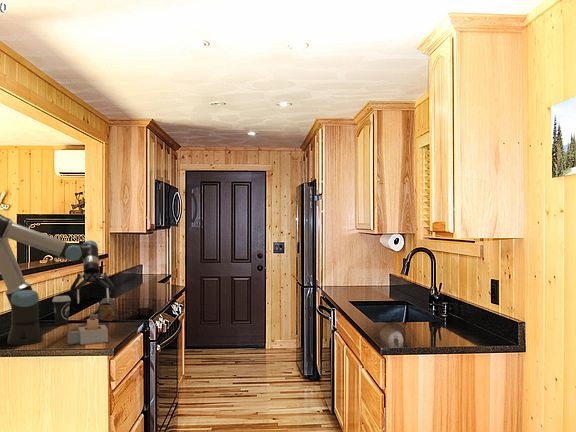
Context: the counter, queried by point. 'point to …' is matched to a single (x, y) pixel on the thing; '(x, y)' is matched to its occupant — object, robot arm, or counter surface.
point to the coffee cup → (61, 309)
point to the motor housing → (88, 335)
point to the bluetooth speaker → (104, 302)
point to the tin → (107, 313)
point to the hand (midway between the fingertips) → (93, 301)
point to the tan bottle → (92, 322)
